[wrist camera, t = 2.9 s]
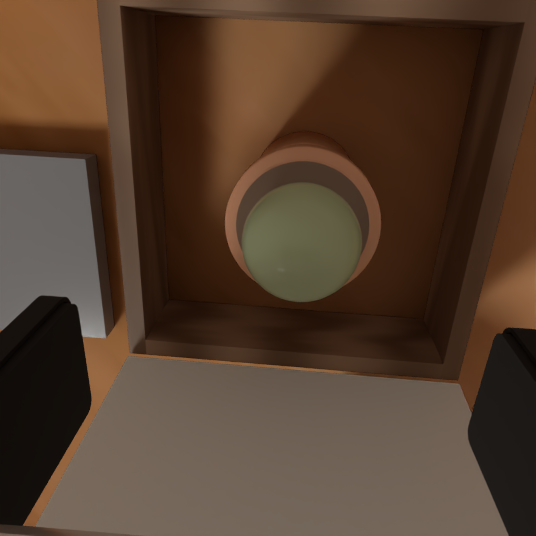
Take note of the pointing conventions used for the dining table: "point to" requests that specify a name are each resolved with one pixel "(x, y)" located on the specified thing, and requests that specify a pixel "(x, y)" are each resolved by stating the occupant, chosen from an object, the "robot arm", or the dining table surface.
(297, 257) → the terracotta pot
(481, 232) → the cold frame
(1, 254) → the slate tile
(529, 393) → the robot arm
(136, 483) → the frame lid
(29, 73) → the dining table surface
